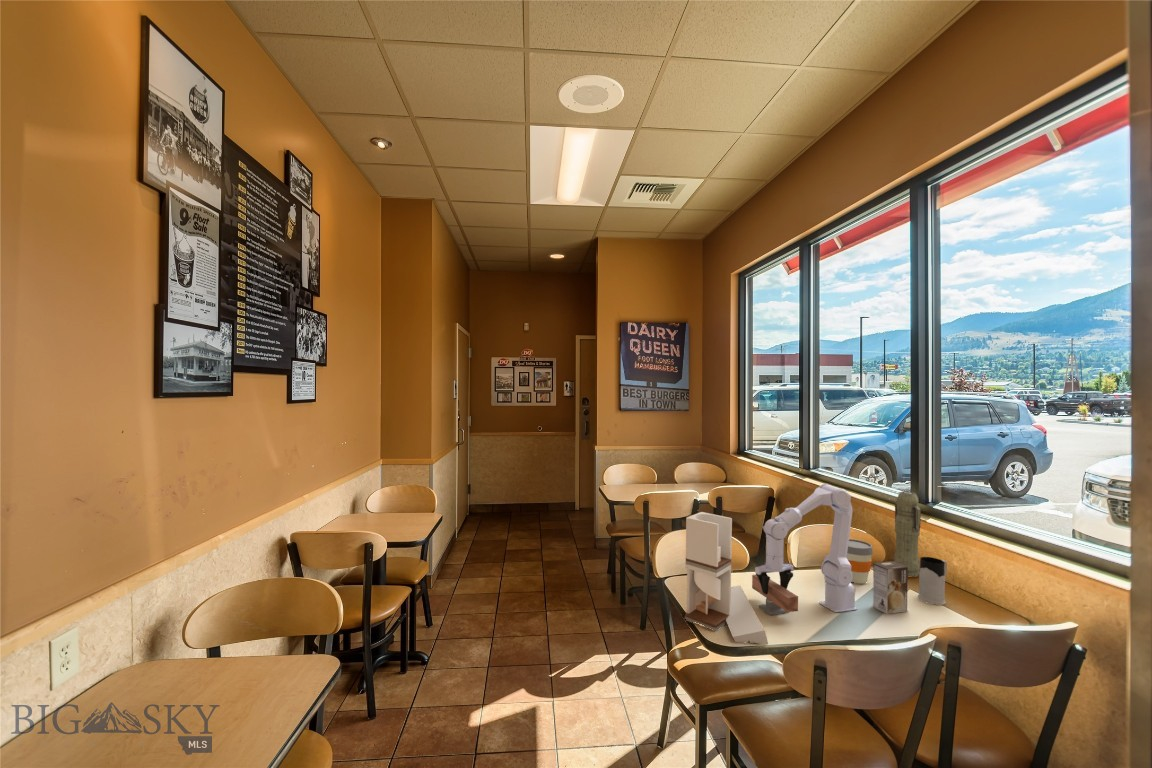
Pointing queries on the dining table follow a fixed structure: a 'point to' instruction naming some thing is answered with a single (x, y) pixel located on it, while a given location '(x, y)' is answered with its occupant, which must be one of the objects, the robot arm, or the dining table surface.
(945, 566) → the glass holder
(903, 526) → the thermos
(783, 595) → the mahogany rod
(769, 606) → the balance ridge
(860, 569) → the reusable coffee cup
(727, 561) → the white tower model
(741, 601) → the decorative molding
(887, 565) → the coffee box
